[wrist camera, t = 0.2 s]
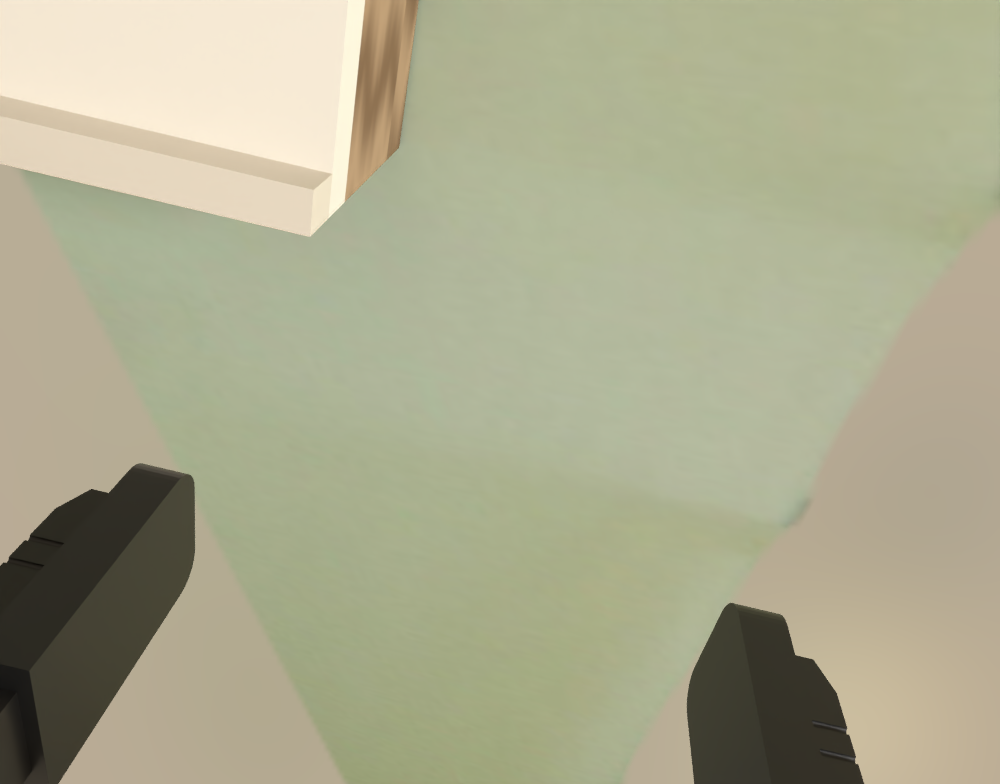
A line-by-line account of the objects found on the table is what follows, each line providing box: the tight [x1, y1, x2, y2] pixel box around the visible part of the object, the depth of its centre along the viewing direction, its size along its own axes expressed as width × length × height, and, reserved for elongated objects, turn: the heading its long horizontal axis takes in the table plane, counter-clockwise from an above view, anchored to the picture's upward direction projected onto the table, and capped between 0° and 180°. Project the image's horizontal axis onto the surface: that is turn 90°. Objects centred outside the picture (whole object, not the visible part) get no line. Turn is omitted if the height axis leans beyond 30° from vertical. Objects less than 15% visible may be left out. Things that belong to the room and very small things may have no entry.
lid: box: [0, 0, 365, 237], centre depth 25 cm, size 11×12×4 cm
